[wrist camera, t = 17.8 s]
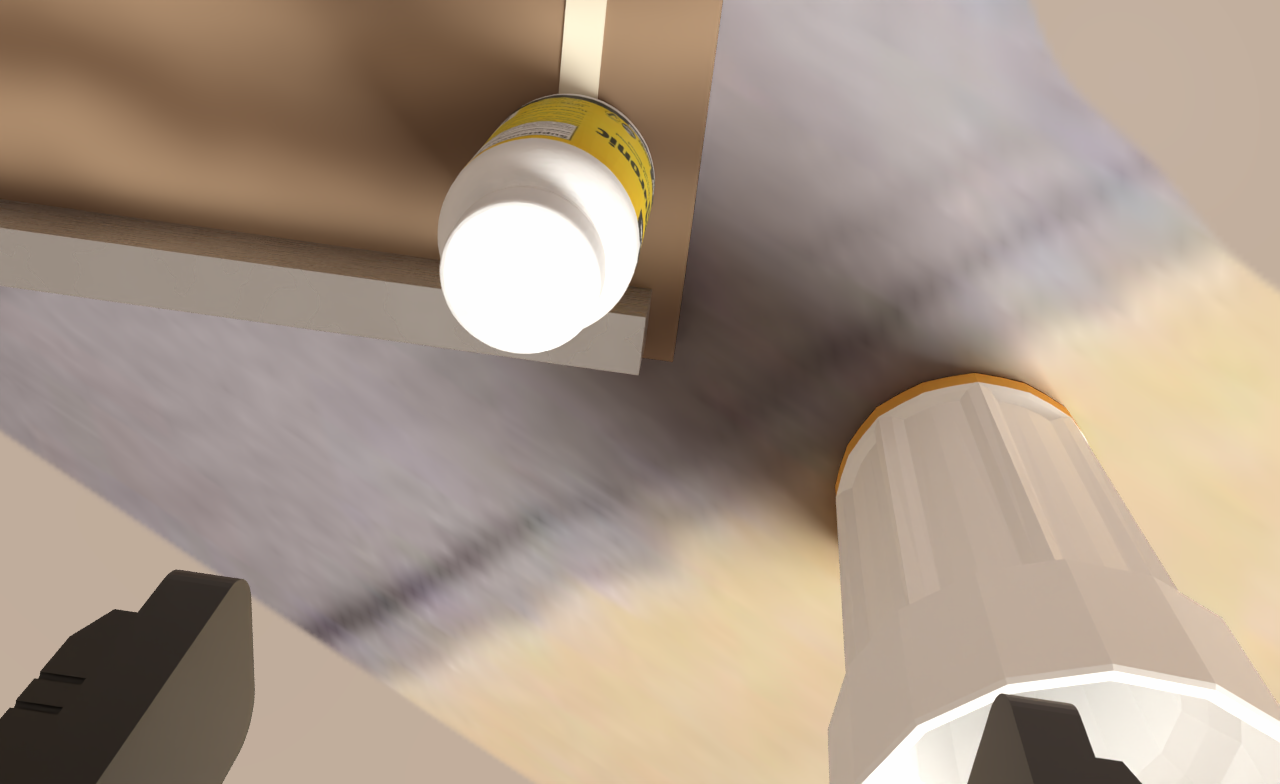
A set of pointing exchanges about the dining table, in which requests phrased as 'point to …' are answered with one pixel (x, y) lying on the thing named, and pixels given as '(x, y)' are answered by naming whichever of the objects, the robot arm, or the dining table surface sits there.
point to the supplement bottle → (545, 223)
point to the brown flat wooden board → (339, 111)
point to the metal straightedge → (273, 282)
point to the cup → (1019, 602)
